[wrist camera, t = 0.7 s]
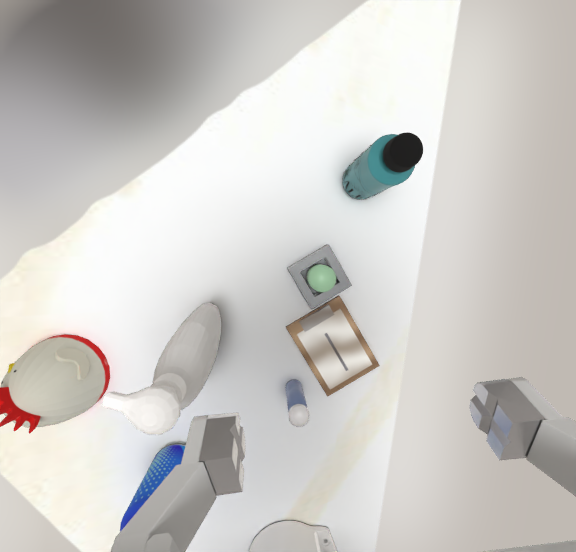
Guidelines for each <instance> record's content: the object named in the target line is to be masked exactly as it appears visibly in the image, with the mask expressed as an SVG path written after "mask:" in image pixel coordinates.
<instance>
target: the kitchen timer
mask: <svg viewBox="0 0 576 552" xmlns="http://www.w3.org/2000/svg"><path fill="white" fill-rule="evenodd" d="M109 379H110V371H109V365H108V362H107V360H106V357H105V355H104V354H103V353H102V351H101V350H100V349H99V348H98V347H97V346H96V345H95V344H93V343H92V342H91V341H89V340H87V339H85V338H82V337H80V336H76V335H66V334H65V335H59V336H53V337H51V338H49V339H46V340H44V341H42V342H40V343H38V344H36V345H34V346H33V347H31V348H30V349H29V350H28V351H27V352H25V353H24V354H23V355H22V356H21V357H20V358H19V359H18V360H17V361H16V362H15V363H13V364H10V365H9V370H8V372H7V374H6V375H5V377H4V379H3V381H2V383H1V386H0V415H1V414H3V413H4V415H5V416H6V417H5V418H4V419H3V420H2V422H1V423H0V427H1V426H3V425H5V424H7V423H9V422H11V421H13V422H14V423H16V424H15V427H14V431H16V430H17V429H18V428H19V427H21V426H22V425H23V426H24V427H27V428H28V427H30V429H29V433H31V432H32V431H33V430H34V429H35V428H36V427H43V426H49V425H54V424H58V423H61V422H64V421H66V420H69V419H71V418H73V417H75V416H78V415H80V414H82V413H84V412H85V411H87V410H88V409H89V408H91V407H92V406H93V405H94V404H95V403H96V402H97V401H98V400H99V399H101V398H102V396H103V394H104V393H105V391H106V389H107V387H108V383H109Z"/></svg>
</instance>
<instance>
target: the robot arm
mask: <svg viewBox="0 0 576 552" xmlns="http://www.w3.org/2000/svg"><path fill="white" fill-rule="evenodd" d="M473 391H474V392H475V394H476V395H475V396H474V397H473V398H472V399H471V402H470V411H471V416H472V418H473V420H474V422H475V424H476V425H477V427H478V428H479V429H480V430H482V431H483V432H485V433H486V434H487V442H488V444H489V445H490V447H491V448H492V450H493V451H494V453H495V454H496V456H497V457H498V459H499V460H507V459H518V458H527V460H528V461H529V462H531V463H532V464H533V465H535V466H536V467H537V468H539V469H540V470H541V471H543V472H544V473H545V474H547V475H548V476H549V477H551V478H552V479H553V480H555V481H556V482H557V483H559V484H560V485H561V486H563V487H564V488H565V489H567V490H568V491H569V492H571V493H572V494H573V495H574V496H576V421H575V420H573V419H571V418H568V417H566V418H563V417H562V416H561V415H560V413H559V412H558V411H557V410H556V409H555V408H554V407H553V406H552V405H551V404H550V403H549V402H548V401H547V400H546V399H545V398H544V397H543V396H542V395H541V394H540V393H539V392H538V391H537V390H536V389H535V388H534V387H533V385H531V383H530V382H529V381H528V380H526V379H525V378H523V377H519V378H511V379H501V380H493V381H486V382H480V383H477V384H475V386H474V389H473ZM244 457H245V436H244V430H243V427H241V426H240V416H239V413H227V414H216V415H207V416H197V417H194V418H193V420H192V422H191V425H190V429H189V433H188V438H187V442H186V446H185V450H184V454H183V458H182V462H181V464H180V465H176V466H175V467H174V469H173V470H172V471H171V472H170V473H169V475H168V476H167V477H166V478H165V479H164V481H163V482H162V483H161V484H160V485H159V486H158V488H157V489H156V490H155V491H154V492H153V494H152V495H151V496H150V497H149V498H148V500H147V501H146V502H145V503H144V504H143V506H142V507H141V508H140V509H139V510H138V511H137V513H136V514H135V515H134V516H133V517H132V519H131V520H130V521H129V522H128V523H127V525H126V526H125V527H124V528H123V529H122V531H121V532H120V533H119V534H118V535H117V536H116V538H115V541H114V544H113V546H112V549H111V552H185V551H186V549H187V547H188V546H189V544H190V542H191V541H192V539H193V537H194V535H195V534H196V532H197V530H198V529H199V527H200V525H201V523H202V522H203V520H204V518H205V517H206V515H207V513H208V511H209V510H210V508H211V506H212V505H213V503H214V501H215V499H216V498H217V497H216V496H217V495H224V494H230V493H237V492H242V491H243V477H244V469H243V465H242V460H243V459H244ZM325 539H326V540H325ZM249 552H337V550H336V547H335V544H334V542H333V539H332V536H331V534H330V531H329V529H328V528H327V527H324V526H309V525H306V524H304V523H301V522H297V521H281V522H277V523H274V524H272V525H270V526H268V527H266V528H265V529H263V530H262V531H261V532H260V533H259V534H258V535H257V536H256V537H255V539H254V540H253V542H252V544H251V547H250V550H249ZM483 552H576V540H574V541H565V542H558V543H549V544H541V545H532V546H525V547H517V548H508V549H500V550H492V551H483Z"/></svg>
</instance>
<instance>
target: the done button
mask: <svg viewBox="0 0 576 552" xmlns="http://www.w3.org/2000/svg"><path fill="white" fill-rule="evenodd" d="M306 278H307V282H308V284H309V285H310V286H311V287H312V288H313V289H314V290H316V291H318V292H327V291H329V290H331V289H332V288H333V287H334V285H335V283H336V275H335V272H334V271H333V269H332V268H330V267H328V266H326V265H323V264H315V265H313V266H311V267H310V268H309V270H308V272H307V275H306Z"/></svg>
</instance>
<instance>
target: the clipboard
mask: <svg viewBox="0 0 576 552" xmlns="http://www.w3.org/2000/svg"><path fill="white" fill-rule="evenodd" d="M286 328H287V330H288V332H289V333H290V335H291V337H292V338H293V340H294V342H295V343H296V345H297V346H298V348H299V350H300V351H301V353H302V355H303V356H304V358H305V360H306V361H307V363H308V365H309V366H310V368H311V370H312V371H313V373H314V375H315V376H316V378H317V380H318V381H319V383H320V385H321V386H322V388H323V390H324V391H325V393H326V395H327V396H329V395H331V394H333V393H334V392H336V391H338V390H339V389H341V388H343V387H344V386H346V385H348V384H349V383H351V382H353V381H355V380H356V379H358V378H360V377H361V376H363V375H365V374H366V373H368V372H370V371H371V370H373V369H375V368H376V367H378V366H379V364H378V362H377V361H376V359H375V357H374V355H373V354H372V352H371V350H370V348H369V347H368V345H367V343H366V341H365V340H364V338H363V336H362V334H361V333H360V331H359V329H358V327H357V326H356V324H355V322H354V320H353V319H352V317H351V315H350V313H349V312H348V310H347V308H346V306H345V305H344V303H343V301H342V299H341V298H340V296H337V297H336V298H334V299H332V300H330V301H329V302H327V303H325V304H324V305H322V306H320V307H319V308H317V309H315V310H314V311H312V312H310V313H308V314H307V315H305V316H303V317H302V318H300V319H298V320H297V321H295V322H293V323H292V324H290V325H288V326H286Z"/></svg>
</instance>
